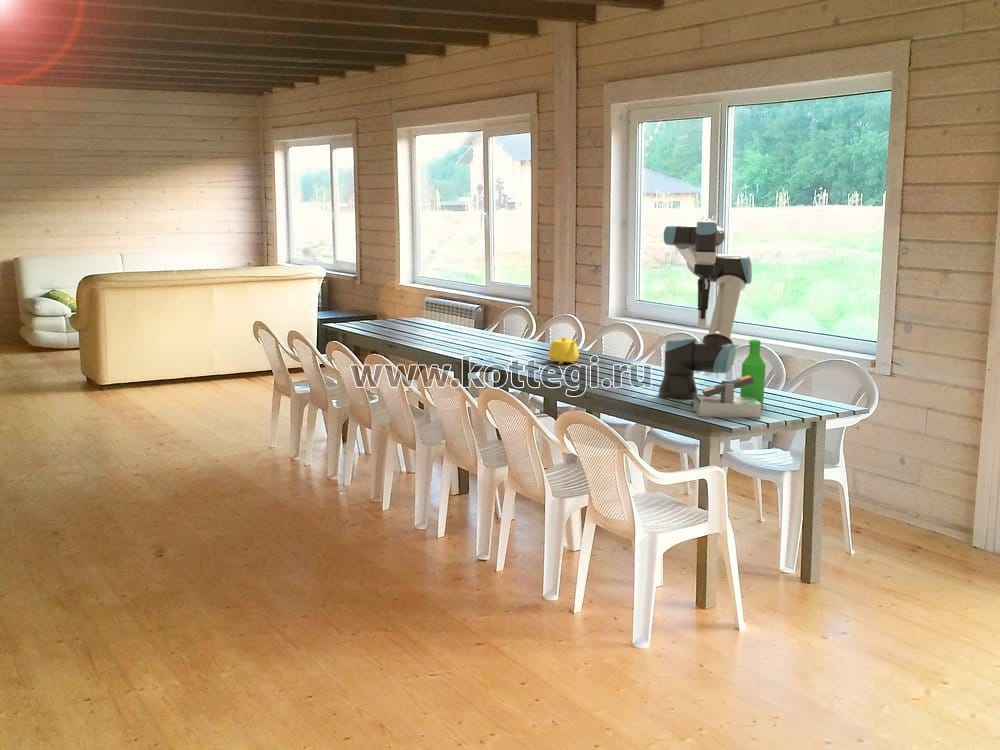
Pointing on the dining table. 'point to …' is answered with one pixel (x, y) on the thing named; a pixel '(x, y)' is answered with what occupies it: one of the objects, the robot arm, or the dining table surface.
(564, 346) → the teapot
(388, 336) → the dining table surface
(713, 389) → the rocker
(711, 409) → the grey seesaw stand
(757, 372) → the bottle
